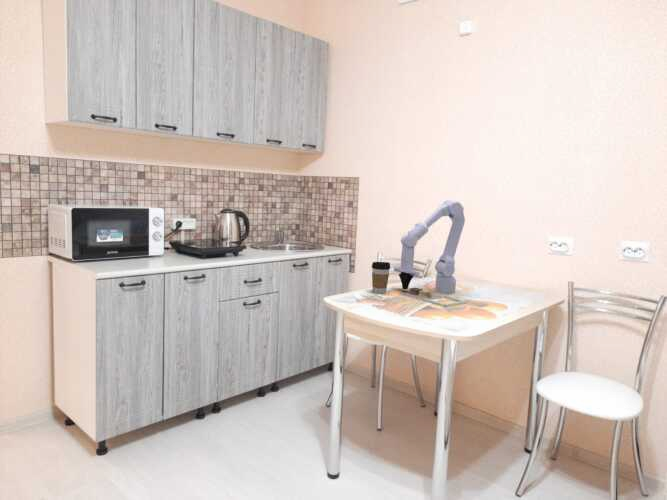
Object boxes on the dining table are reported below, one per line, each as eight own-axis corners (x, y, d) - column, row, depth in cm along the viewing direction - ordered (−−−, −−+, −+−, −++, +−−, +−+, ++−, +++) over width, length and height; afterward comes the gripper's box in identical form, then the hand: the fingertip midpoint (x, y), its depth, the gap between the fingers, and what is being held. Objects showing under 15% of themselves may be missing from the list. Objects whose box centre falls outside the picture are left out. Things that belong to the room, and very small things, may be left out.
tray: (443, 300, 226) (444, 295, 226) (465, 306, 217) (466, 301, 217) (422, 303, 217) (423, 298, 217) (444, 309, 208) (445, 304, 208)
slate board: (418, 293, 238) (418, 290, 237) (443, 300, 226) (443, 297, 226) (397, 296, 229) (397, 293, 229) (422, 303, 217) (423, 300, 217)
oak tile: (424, 295, 228) (425, 289, 228) (431, 297, 225) (431, 291, 225) (418, 296, 226) (419, 290, 225) (425, 298, 223) (425, 292, 222)
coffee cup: (385, 297, 224) (388, 264, 222) (367, 295, 227) (369, 262, 225) (390, 294, 232) (392, 262, 230) (372, 291, 235) (374, 260, 233)
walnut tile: (415, 292, 232) (415, 287, 232) (422, 294, 229) (422, 289, 229) (409, 293, 230) (409, 288, 230) (416, 295, 227) (416, 290, 227)
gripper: (390, 258, 236) (388, 286, 238) (413, 263, 225) (410, 293, 227) (400, 257, 240) (398, 285, 242) (423, 262, 229) (421, 291, 231)
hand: (405, 289), depth 235 cm, fingers closed
